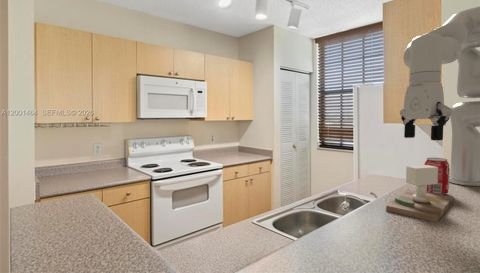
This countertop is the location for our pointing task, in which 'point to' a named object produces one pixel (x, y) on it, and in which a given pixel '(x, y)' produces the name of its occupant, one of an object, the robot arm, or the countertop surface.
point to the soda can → (439, 176)
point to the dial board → (420, 206)
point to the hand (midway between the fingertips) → (422, 138)
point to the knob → (422, 181)
